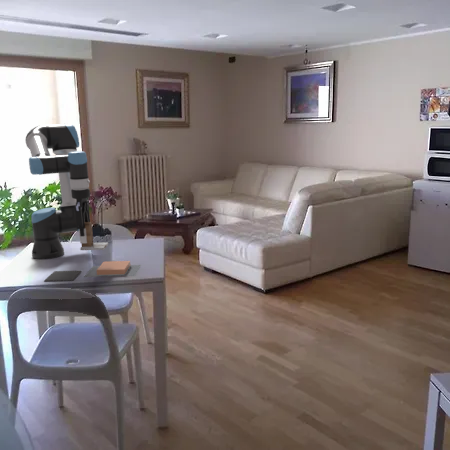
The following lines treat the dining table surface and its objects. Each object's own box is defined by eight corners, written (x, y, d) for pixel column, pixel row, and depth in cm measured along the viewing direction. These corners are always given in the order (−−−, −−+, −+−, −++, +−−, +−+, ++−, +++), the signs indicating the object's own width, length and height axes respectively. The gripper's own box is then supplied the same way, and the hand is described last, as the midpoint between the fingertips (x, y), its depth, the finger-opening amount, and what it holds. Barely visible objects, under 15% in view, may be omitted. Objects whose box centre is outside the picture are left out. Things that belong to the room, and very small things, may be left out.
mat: (93, 267, 214) (93, 266, 214) (141, 265, 213) (141, 264, 213) (83, 278, 199) (83, 277, 199) (135, 276, 199) (134, 275, 199)
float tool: (86, 244, 208) (83, 220, 206) (108, 244, 208) (106, 220, 205) (80, 250, 200) (78, 225, 198) (103, 249, 200) (101, 224, 198)
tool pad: (54, 273, 206) (54, 271, 206) (81, 272, 206) (81, 270, 206) (44, 282, 195) (44, 280, 195) (73, 282, 195) (72, 279, 194)
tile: (103, 261, 211) (130, 260, 211) (104, 266, 212) (130, 266, 212) (96, 270, 200) (124, 269, 200) (97, 275, 200) (124, 274, 200)
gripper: (83, 191, 190) (88, 247, 195) (94, 185, 206) (99, 236, 212) (64, 192, 190) (70, 247, 195) (77, 185, 206) (82, 236, 212)
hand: (85, 241), depth 204 cm, fingers closed on float tool, 4 cm apart
